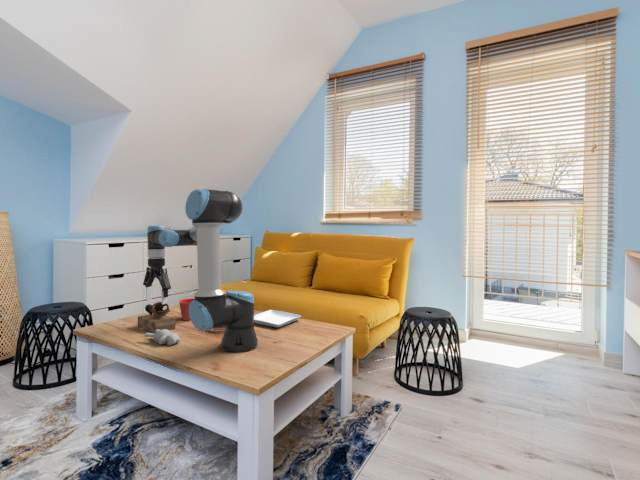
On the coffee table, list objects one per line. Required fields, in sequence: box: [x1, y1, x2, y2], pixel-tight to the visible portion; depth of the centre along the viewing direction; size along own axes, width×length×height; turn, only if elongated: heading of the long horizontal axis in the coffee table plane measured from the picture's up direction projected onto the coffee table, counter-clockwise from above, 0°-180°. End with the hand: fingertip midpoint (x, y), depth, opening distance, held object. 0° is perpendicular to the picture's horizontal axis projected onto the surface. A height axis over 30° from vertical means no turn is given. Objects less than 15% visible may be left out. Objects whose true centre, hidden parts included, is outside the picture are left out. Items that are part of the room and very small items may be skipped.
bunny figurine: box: [144, 329, 181, 346], centre depth 160 cm, size 10×5×15 cm
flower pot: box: [179, 298, 195, 322], centre depth 198 cm, size 11×11×10 cm
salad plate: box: [254, 309, 302, 328], centre depth 195 cm, size 21×21×3 cm
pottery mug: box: [144, 301, 171, 320], centre depth 180 cm, size 12×10×8 cm
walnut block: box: [137, 313, 176, 334], centre depth 180 cm, size 16×10×5 cm, turn 54°
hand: (156, 302), depth 179 cm, fingers open, 13 cm apart
